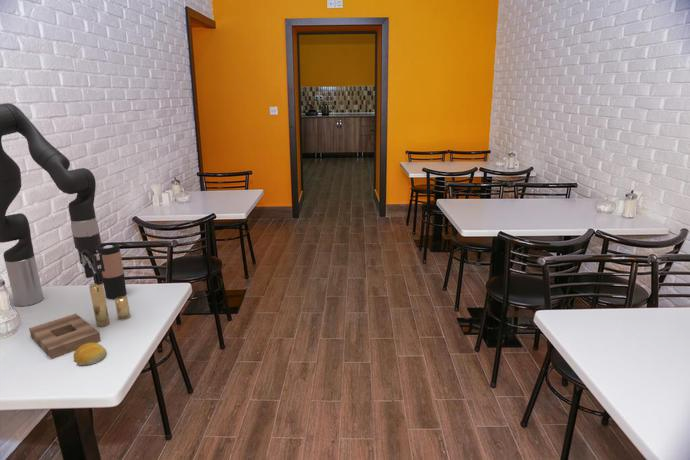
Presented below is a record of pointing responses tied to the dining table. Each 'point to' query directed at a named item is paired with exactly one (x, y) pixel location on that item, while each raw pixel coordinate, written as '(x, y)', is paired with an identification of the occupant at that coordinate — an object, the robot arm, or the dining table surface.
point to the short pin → (122, 307)
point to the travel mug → (112, 270)
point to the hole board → (64, 335)
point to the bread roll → (89, 354)
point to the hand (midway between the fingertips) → (94, 280)
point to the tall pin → (99, 305)
